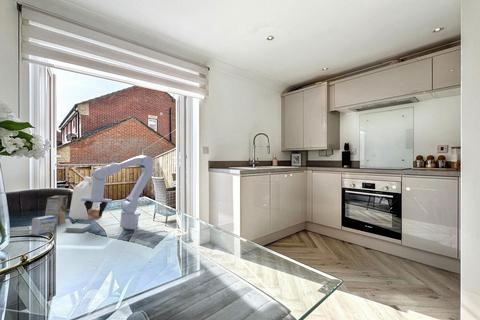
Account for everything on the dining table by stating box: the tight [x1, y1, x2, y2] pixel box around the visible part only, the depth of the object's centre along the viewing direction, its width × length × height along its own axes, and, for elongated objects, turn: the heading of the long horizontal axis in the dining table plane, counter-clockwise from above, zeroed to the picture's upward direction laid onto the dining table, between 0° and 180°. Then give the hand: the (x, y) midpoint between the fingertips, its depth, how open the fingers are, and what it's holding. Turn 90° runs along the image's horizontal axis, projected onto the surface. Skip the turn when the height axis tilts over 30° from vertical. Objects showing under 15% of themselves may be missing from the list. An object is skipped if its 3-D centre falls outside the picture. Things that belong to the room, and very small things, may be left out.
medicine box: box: [30, 215, 56, 236], centre depth 113 cm, size 8×4×9 cm, turn 168°
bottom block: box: [63, 230, 87, 234], centre depth 120 cm, size 10×10×2 cm
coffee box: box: [44, 194, 69, 227], centre depth 127 cm, size 9×6×16 cm
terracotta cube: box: [87, 207, 103, 221], centre depth 124 cm, size 5×5×5 cm
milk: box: [68, 176, 99, 221], centre depth 148 cm, size 12×12×26 cm
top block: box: [65, 222, 92, 232], centre depth 121 cm, size 8×8×2 cm
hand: (94, 215), depth 124 cm, fingers closed on terracotta cube, 5 cm apart
